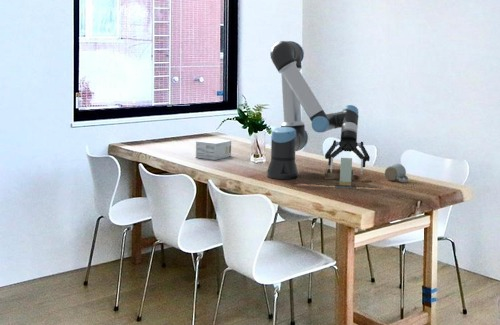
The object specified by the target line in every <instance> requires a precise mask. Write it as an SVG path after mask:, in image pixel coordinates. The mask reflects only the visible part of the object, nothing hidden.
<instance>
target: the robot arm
mask: <svg viewBox="0 0 500 325" xmlns="http://www.w3.org/2000/svg"><path fill="white" fill-rule="evenodd" d="M304 57H305V51H304V49H303V47H302V45H301V44H299V43H298V42H296V41H292V40H280V41H277V42H275V43H274V44H273V45H272V47H271V49H270V59H271V62H272V64H273V65H274V68H276V70H277V72H278V73H279V74H281V87H282V89H281V90H282V106H283V107H282V108H283V110H282V111H283V122H282V123H281V124H280V127H275V128H274V129H272V131H271V136H270V137H271V138H270V139H271V144H270V149H271V150H270V162H269V164H268V165H269V166H268V168H267V170H266V171H267V172H266V176H267V177H268V178H271V179H274V180H275V179H277V180H292V179H293V180H294V179H297V178H298V177H299V171H298V168H297V163H296V152H298V151H301V150H302V149H303V148H305V147H306V146H307V144H308V141H309V135H308V132H307V130H306V126H305V123H304V122H303V121H302V109H301V107H302V108H303V111H304V112H305V114H306V115H307V117H308V118H309V120H310V122H311V128H312V129H313V131H314V132H316V133H325V132H327V131H331V130H335V129H340V128H341V130H340V141H337V140H336V139H335V140H333V142H332V145H331V146H330V148H329V149H328V150H327V151H326V153H325V154H324V159H325V160H328V163H327V164H328V166H330V168H329V169H330V172H332V169H333V165H334V158H336V157H337V156H338V155H339V154H341V153H342V152H349V153H350V152H353V153H354V154H355V155H356V156H357V157H358V158H359V159H360V160H361V161H360V175H363V168H366V162H370V160H371V159H370V158H371V157H370V155H369V153H368V151H367V149H366V148H365V146H364V141H360V142H358V124H359V109H358V107H357V106H356V105H352V104H350V105H348V104H347V105H345V106H344V107H343V108H342V111H338V112H332V113H327V114H326V111H325V110H324V109H323V106H322V105H321V104H320V102H319V100H318V99H317V97H316V96H315V94H314V92H313V91H312V89H311V87H310V86H309V84H308V82H307V81H306V78H304V76H303V75H302V73H301V70H302V67H303V66H302V62H303V59H304ZM336 147H338V148H336ZM358 148H360V150H359V149H358Z"/></svg>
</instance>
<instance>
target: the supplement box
mask: <svg viewBox="0 0 500 325" xmlns="http://www.w3.org/2000/svg"><path fill="white" fill-rule="evenodd" d="M229 156H230V157H231V156H232V140H228V139H218V138H210V139H205V140H199V141H198V140H197V141H195V158H196V159H197V158H198V159H205V160H212V161H216V160H220V159H224V158H225V159H226V158H230V157H229Z"/></svg>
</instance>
